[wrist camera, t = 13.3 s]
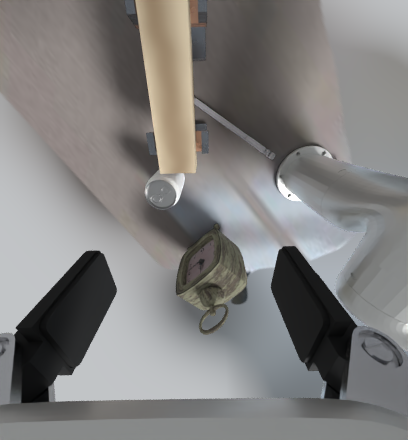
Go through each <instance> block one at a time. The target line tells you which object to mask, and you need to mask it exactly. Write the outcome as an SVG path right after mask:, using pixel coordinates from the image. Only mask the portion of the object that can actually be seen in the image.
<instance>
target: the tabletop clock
mask: <svg viewBox="0 0 408 440" xmlns="http://www.w3.org/2000/svg"><path fill="white" fill-rule="evenodd" d="M219 228H220V225H219V224H215V225H214V229H212V230H210V231H209V232H208V233H206V234H205V235H204V236H203V237H202V238H200V239H199V240H198V241H197V242H196V243H195V244H194V245H193V246H192V247H189V248H188V251H187V252H186V253H185V254H184V255H183V257H182V259H181V262H180V265H179V269H178V274H177V281H176V293H177V296H179V297H181V298H182V299H184V300H186V301H188V302H189V303H191V304H193V305H194V306H196V307H198V308H199V309H201V310H208V311H207V312H206V313H205V314H204V315H203V316H202V318H201V321H200V324H199V329H200V332H201V333H203V334H205V335H208V334H211V333H213V332H215V331H216V330H218V329H219V328H220V327H221V326H222V325H223V324H224V322H225V321H226V319H227V317H228V307H227V306H226V305H225V304H224V303H225V302H227V301H229V300H230V299H231V298H233V297H234V296H236V295H237V294H238V293H240V292H241V291H242V290H243V289H244V288H245V287H246V285H247V275H246V270H245V266H244V261H243V257H242V255H241V252H240V250H239V248H238V247H237V246H236V245H235V244H234V243H233V242H232V241H230V240H229V239H228V238H227V237H226V236H224V235H223V234H222V233H221V232H220V231H218V229H219ZM221 307H225V309H226V312H225V315H224V317H223V318H222V320H221V321H220V322H219V323H218V324H217V325H216V326H214V327H213V328H211V329H209V330H203V329H202V322H203V321H204V319H205V318H206V317H207V316H208V315H209V314H210V315H211V316H215V314H216V310H217V309H218V308H221Z"/></svg>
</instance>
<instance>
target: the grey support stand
mask: <svg viewBox="0 0 408 440" xmlns="http://www.w3.org/2000/svg"><path fill="white" fill-rule="evenodd" d="M125 6H126V12H127V15H128V17H129V18H130V19H131V21H132V22H133V24H134V25H135V27H136V28H137V29H139V23H138V16H137V9H136V2H135V0H125ZM190 16H191V39H192V61H195V60H206V48H205V27H206V24H207V0H190ZM195 132H196V151H202V154H205V153H208V131H207V124H195ZM146 135H147V142H148V148H149V154H150V155H157V148H156V141H155V134H154V132H150V133H146Z"/></svg>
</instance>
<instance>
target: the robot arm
mask: <svg viewBox="0 0 408 440" xmlns="http://www.w3.org/2000/svg"><path fill="white" fill-rule="evenodd" d="M296 153H297V154H296ZM280 175H281V176H280ZM276 183H277V187H278V190H279V191H280V193H281V194H282V195H283V196H285V197H286V198H288V199H290V200H294V201H302V202H303V203H305V204H306V205H307V206H308V207H310V208H311V209H312V210H314V211H315V212H316V213H317V214H319V215H320V216H321V217H323V218H324V219H325V220H326V221H328V222H329V223H330V224H332V225H333V226H335V227H337V228H339V229H341V230H344V231H349V232H366V234H365V236H364V237H363V238H362V240H361V241H360V243H359V245H358V247H357V248H356V250H355V251H354V253H353V254H352V256H351V257H350V259H349V260H348V261H347V263H346V264H345V266H344V267H343V269H342V270H341V272H340V274H339V275H338V277H337V279H336V282H335V291H336V295H337V297H338V299H339V300H340V302H341V303H342V304H343V306H344V307H345V308H346V309H347V310H348V311H349V312H350V313H351V314H352V315H353V316H355V317H356V318H357V319H358V320H360V321H361V322H362V323H364V324H365V325H366V326H357V325H356V324H355V323H354V321H353V320H352V319H351V317H350V316H349V315H348V313H347V312H346V311H345V310H344V308H343V307H342V306H341V304H340V303H339V301H338V300H337V299H336V298H335V296H334V295H333V294H332V292H331V291H330V290H329V289H328V287H327V286H326V284H325V283H324V282H323V281H322V279H321V278H320V277H319V275H318V274H317V273H315V271H314V270H313V269H312V267H311V266H310V265H309V263H308V262H307V261H306V259H305V258H304V257H303V255H302V254H301V253H300V252H299V250H298V249H297V248H296V247H295V246H284V247H283V248H282V249H280V250H279V252H278V256H277V261H276V265H275V270H274V274H273V279H272V283H271V290H272V293H273V295H274V298H275V300H276V303H277V305H278V308H279V310H280V312H281V315H282V317H283V320H284V322H285V324H286V327H287V329H288V332H289V334H290V337H291V339H292V341H293V344H294V346H295V349H296V351H297V354H298V356H299V358H300V360H301V361H302V362H303V363H305V364H306V366H307V369H308V371H319V373H320V375H321V377H322V379H323V380H324V383H323V388H322V393H321V398H236V399H169V400H114V401H113V400H112V401H66V402H55V391H54V381H55V379H56V377H57V375H72V373H73V371H74V369H75V368H76V366H78V365H79V364H80V363H81V362H82V359H83V358H84V356H85V354H86V352H87V350H88V348H89V346H90V344H91V342H92V340H93V338H94V336H95V334H96V332H97V330H98V328H99V326H100V324H101V322H102V321H103V319H104V317H105V315H106V313H107V311H108V309H109V307H110V305H111V303H112V301H113V299H114V297H115V295H116V292H117V288H116V285H115V283H114V280H113V278H112V275H111V272H110V269H109V267H108V264H107V261H106V259H105V256H104V254H102V253H101V252H100V251H86V252H85V253H84V254H83V255H82V256H81V257H80V258H79V259H78V260H77V261H76V263H75V264H74V265H73V266H72V267H71V268H70V269H69V270H68V271H67V272H66V274H64V276H63V277H62V278H61V279H60V280H59V281H58V282H57V283H56V284H55V285H54V286H53V288H52V289H51V290H50V291H49V292H48V293H47V294H46V295H45V296H44V297H43V299H42V300H41V301H40V302H39V303H38V304H37V305H36V306H35V307H34V308H33V309H32V310H31V311H30V313H29V314H28V315H27V316H26V317H25V318H24V319H23V320H22V321H21V322H20V323H19V325H18V326H17V327H16V329H17V330H18V331H17V332H16V333H15V334H14V335H13V334H12V333H2V334H0V440H408V357H407V355H406V354H405V352H404V351H403V349H404V350H406V351H407V352H408V178H406V177H402V176H397V175H393V174H389V173H385V172H381V171H377V170H373V169H369V168H366V167H361V166H358V165H354V164H351V163H347V162H343V161H339V160H336V159H333V158H332V156H331V154H330V153H329V152H328V151H327V150H326V149H324V148H322V147H319V146H304V147H301V148H299V149H296V150H295V151H293V152H291V153H290V154H289V155H288V156H287V157H286V158H285V159H284V160H283V162H282V163H281V165H280V166H279V169H278V171H277V176H276ZM367 326H368V327H367Z"/></svg>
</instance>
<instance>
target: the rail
mask: <svg viewBox="0 0 408 440" xmlns="http://www.w3.org/2000/svg"><path fill="white" fill-rule="evenodd" d="M135 2H136V9H137V16H138V23H139V30H140V37H141V44H142V51H143V57H144V64H145V71H146V78H147V85H148V92H149V99H150V106H151V113H152V120H153V127H154V134H155V141H156V148H157V155H158V162H159V169H160V174H173V173H196V167H197V155H196V132H195V109H194V86H193V62H192V39H191V16H190V0H135Z"/></svg>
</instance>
